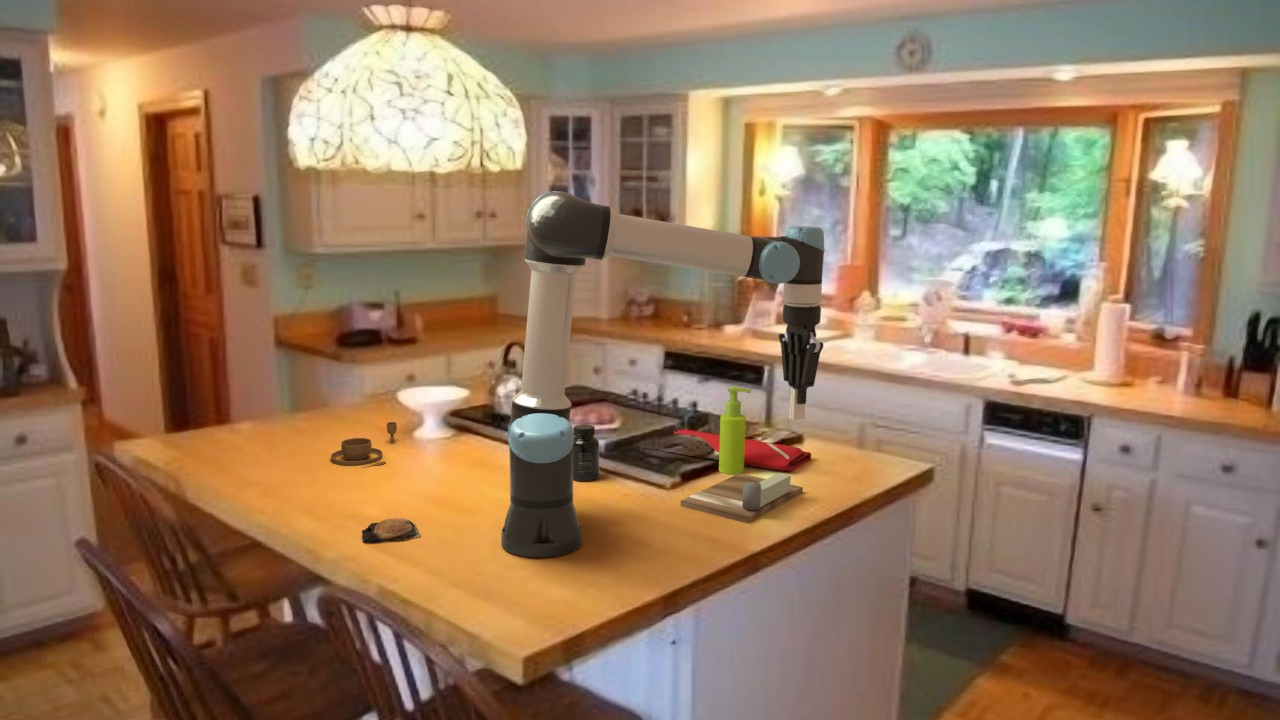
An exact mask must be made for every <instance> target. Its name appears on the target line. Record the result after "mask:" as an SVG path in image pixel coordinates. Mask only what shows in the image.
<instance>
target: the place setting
mask: <svg viewBox="0 0 1280 720" xmlns="http://www.w3.org/2000/svg"><path fill="white" fill-rule="evenodd" d="M397 424H398V423H397V422H396V421H395V422H394V421H389V422H386V432H387V433H388V434H389V436H390V438H389V440H390V443H389V444H390V445H395V437H394V436H395V434H396V433H397V428H398V425H397ZM340 444H341V447H340V448H341V449H340V450H337V451H335V452H333V453H332V454H331V455H330V459H331V462H333V463H334V464H336V465H339V466H346V467H347V466H348V467H350V466H351V467H353V466H354V467H356V466H357V467H358V466H364V467H361V469H366V468H370V467H379V466H383V465H385V464H386V463H387V462H386V461H385V460H384V461H380V460H381V459H383V458H382V457H383V451H382V450H381V449H378V448H375V447H372V440H371V439H370V438H366V437H365V438H364V437H354V438H353V437H352V438H348V439H344V440H343V441H341V442H340ZM370 454H372V455H376V457H373V458H369V459H367V457H368V456H369V455H370ZM341 456H342V457H344V458H346V459H348V460H340V459H337V458H339V457H341ZM369 464H370V465H369ZM365 465H367V466H365Z"/></svg>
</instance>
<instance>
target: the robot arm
mask: <svg viewBox="0 0 1280 720" xmlns="http://www.w3.org/2000/svg"><path fill="white" fill-rule="evenodd" d="M526 214H527V215H526V221H525V223H526V236H525V237H526V238H525V248H524V249H525V251H524V261H525V263H526V264H527V265H528V267H529V268H530V271H531V274H530V286H529V295H528V306H527V307H528V308H527V318H526V330H525V343H524V351H523V352H524V353H523V354H524V355H523V362H522V363H523V365H522V372H521V373H522V375H521V377H522V378H521V384H520V385H521V387H520V391H519V392H518V393H516V394H515V395H514V396H513V397H512V401H511V411H510V412H511V413H510V423H508V427H507V440H508V446H509V447H508V450H509V492H510V493H509V494H510V497H509V498H510V499H509V500H510V501H509V502H510V503H509V507H508V511H507V513H506V516H505V520H504V523H503V524H504V525H503V526H502V529H501V534H500V536H501V538H500V539H501V543H500V544H501V546H502V549H504V550H505V551H507V552H508V553H511V554H513V555H516V556H519V557H525V558H552V557H553V558H554V557H559V556H565V555H567V554H569V553H573V552H574V551H576V550H577V549H579V548H580V547H581V546H582V544H583V528H582V526H581V524H580V523H579V518H578V515H577V514H578V513H577V511H576V507H575V504H574V480H573V444H574V434H573V432H574V428H573V426H572V424H571V421H570V420H571V411H572V410H571V409H572V402H571V400H570V399H569V398H568V397H567V396H566V394H565V393H566V383H567V373H568V372H567V371H568V363H569V362H568V360H569V351H570V341H571V340H570V339H571V333H572V331H571V330H572V320H573V312H574V311H573V309H574V301H575V289H576V279H577V274H578V273H579V272H580V271H581V270H582V269H584V268H585V267H586V259H592V260H593V259H594V260H598V261H604V260H605V259H607V258H609V257H618V258H623V259H628V260H629V259H630V260H636V261H643V262H649V263H654V264H661V265H667V266H675V267H678V268H679V267H681V268H686V269H691V270H698V271H704V272H710V273H711V272H712V273H717V274H718V273H719V274H723V275H731V276H737V277H743V278H747V279H753V280H760V281H766V282H767V283H770V284H776V285H777V284H780V285H781V284H783V298H782V300H783V302H784V303H785V304H784V305H783V306H782V322H783V323H784V324H786V328H785V332H784V333H779V334H778V338H779V343H780V348H781V349H780V351H781V361H782V362H781V363H782V373H783V375H782V376H783V380H784V382H787V385H788V386H789V412H788V413H789V414H788V418H789V419H792V420H793V421H794V420H802V419H805V417H806V403H807V390H808V388H811V387H814V385H815V382H816V376H817V370H818V366H819V361H820V355H821V352H822V350H823V348H824V343H823V342H821V341H818V339H817V338H816V337H817V332H816V326H817V325H819V324H820V323H821V315H822V308H821V305H819V304H820V303H821V302H822V290H823V288H822V286H823V270H824V269H823V268H824V258H825V255H824V254H825V233H824V229H822V227H818V226H812V225H811V226H806V225H804V226H803V225H802V226H801V225H796V226H793V225H792V226H788V227H787V228H786V231H785V234H784V235H783V236H758V235H757V236H753V235H752V236H750V235H744V234H739V233H731V232H727V231H720V230H716V229H715V230H714V229H710V228H703V227H697V226H692V225H687V224H686V225H685V224H680V223H675V222H674V223H673V222H667V221H661V220H656V219H650V218H645V217H641V216H634V215H633V216H632V215H627V214H622V213H617V212H616V211H615V209H614V208H613V207H612V206H608V205H603V204H598V203H595V202H591V201H588V200H585V199H582V198H581V197H579V196H576V195H574V194H572V193H569V192H566V191H561V190H558V191H555V190H552V191H550V192H546V193H544V194H541V195H540V196H539V197H537V198H536V199H535V200H534V201H533V202H532V204H531V205H530V207H529V209H528V211H527V213H526Z"/></svg>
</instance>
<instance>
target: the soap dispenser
mask: <svg viewBox="0 0 1280 720" xmlns="http://www.w3.org/2000/svg"><path fill="white" fill-rule="evenodd" d="M727 392H730V393H729V399H728V400H727V401H726V402H725V414H721V415H720V421H719V422H720V423H719V435H720V447H719V461H718V471H719V472H720V473H722V474H726V475H737V474H739V473H741V474H744V471H745V465H744V453H745V439H746V425H747V424H746V418H747V417H746V415H743V414H742V413H741V409H742V408H741V407H742V406H741V405H742V402H741V401H739V400H738V395H739V394H738V392H739V393H741V392H742V393H747V394H750V393H751V392H752V389H749V388H746V387H742V386H741V387H740V386H729V387H728V388H727Z"/></svg>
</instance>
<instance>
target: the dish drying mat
mask: <svg viewBox="0 0 1280 720" xmlns="http://www.w3.org/2000/svg"><path fill="white" fill-rule="evenodd" d="M682 429H684V430H682ZM676 433H677V434H678V433H679V434H683V435H695V436H698V437H701V438H702V439H704V440H705V441H707V442H708V443H709V444H710V445H711V446H712V447H713V448H714V449H715V450H716V451H717V452H719V447H720V434H717V433H710V432H704V431H697V430H694V429H692V430H691V429H688V428H681V430H678V431H677V432H675V431H674V434H676ZM811 460H812V453H811V452H810V451H805V450H803V449H801V448H799V447H796V446H791V445H786V444H781V443H780V444H779V443H774V442H773V443H771V442H768V441H761V440H756V439H749V438H745V453H744V466H750V467H755V468H761V469H769V470H777V471H783V472H785V471H786V472H787V471H789V472H793V471H795V470H797V469H799V468H800V467H802V466H803V465H804V464H806V463H808V462H810V461H811Z"/></svg>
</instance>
